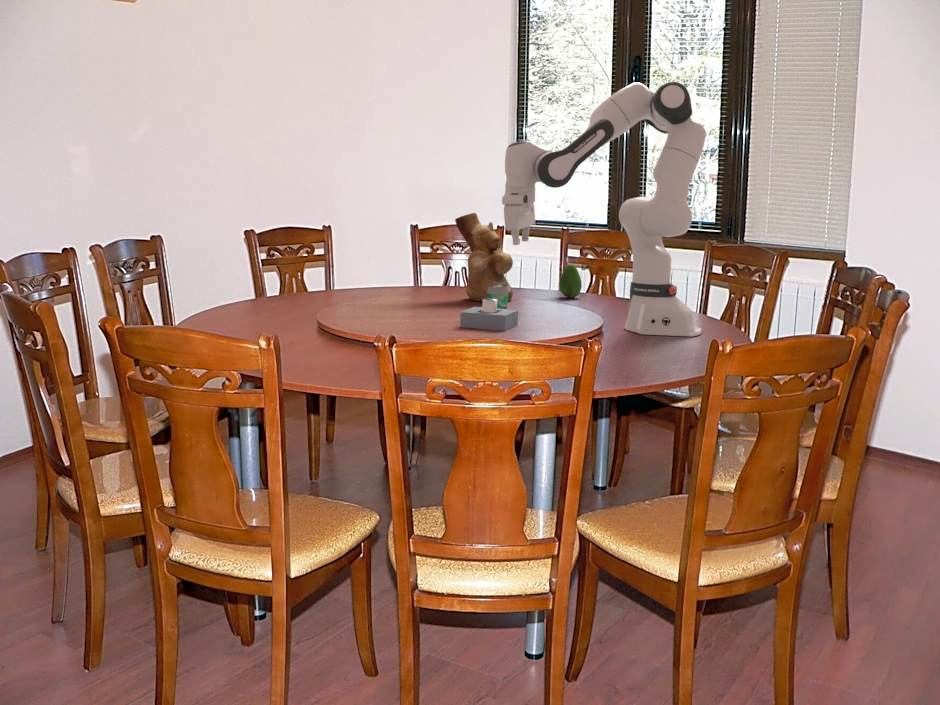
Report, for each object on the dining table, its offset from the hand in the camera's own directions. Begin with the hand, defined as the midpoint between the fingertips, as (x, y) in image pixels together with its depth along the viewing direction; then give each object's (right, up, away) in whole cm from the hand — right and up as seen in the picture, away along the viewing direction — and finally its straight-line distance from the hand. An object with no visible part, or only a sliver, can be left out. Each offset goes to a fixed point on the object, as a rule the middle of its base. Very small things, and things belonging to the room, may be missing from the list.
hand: (520, 243), depth 322 cm
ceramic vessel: (-11, -15, +53) cm, 56 cm away
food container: (-6, -22, +18) cm, 29 cm away
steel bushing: (-10, -25, -1) cm, 27 cm away
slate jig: (-10, -25, -1) cm, 27 cm away
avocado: (+20, -13, +63) cm, 67 cm away
